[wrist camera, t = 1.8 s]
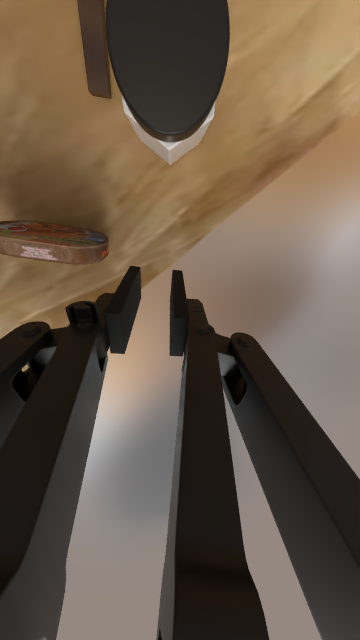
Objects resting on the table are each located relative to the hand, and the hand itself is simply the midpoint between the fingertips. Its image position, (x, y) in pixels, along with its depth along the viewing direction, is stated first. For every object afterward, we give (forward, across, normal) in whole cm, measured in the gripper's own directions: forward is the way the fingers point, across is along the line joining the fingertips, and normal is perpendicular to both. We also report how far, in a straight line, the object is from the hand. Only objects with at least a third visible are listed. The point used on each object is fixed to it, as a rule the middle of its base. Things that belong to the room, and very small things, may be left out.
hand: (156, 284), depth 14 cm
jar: (+19, 0, +14) cm, 23 cm away
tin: (+19, -16, -1) cm, 24 cm away
